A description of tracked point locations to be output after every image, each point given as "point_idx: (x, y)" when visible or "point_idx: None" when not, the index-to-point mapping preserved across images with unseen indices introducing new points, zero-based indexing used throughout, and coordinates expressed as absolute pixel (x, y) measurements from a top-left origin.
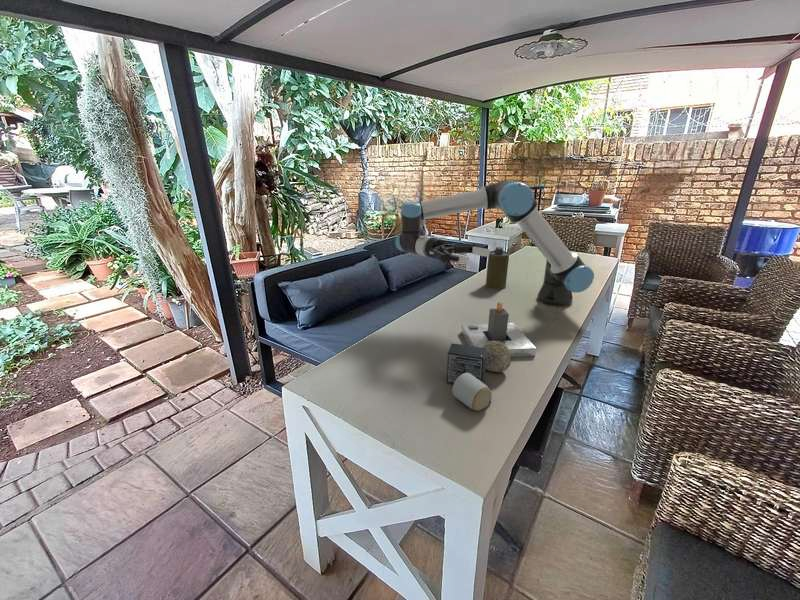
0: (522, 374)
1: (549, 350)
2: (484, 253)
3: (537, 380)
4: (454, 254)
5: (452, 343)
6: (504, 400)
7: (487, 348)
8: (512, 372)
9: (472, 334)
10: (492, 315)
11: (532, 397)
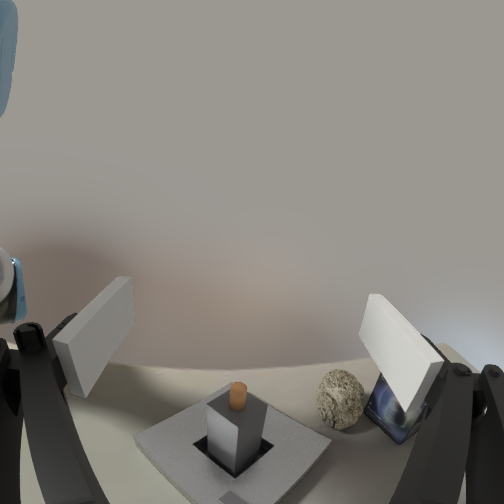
0: (303, 388)
1: (193, 382)
2: (124, 317)
3: (299, 373)
4: (428, 345)
5: (425, 403)
6: (371, 378)
7: (362, 387)
8: (310, 398)
9: (274, 486)
10: (257, 418)
11: (337, 365)
